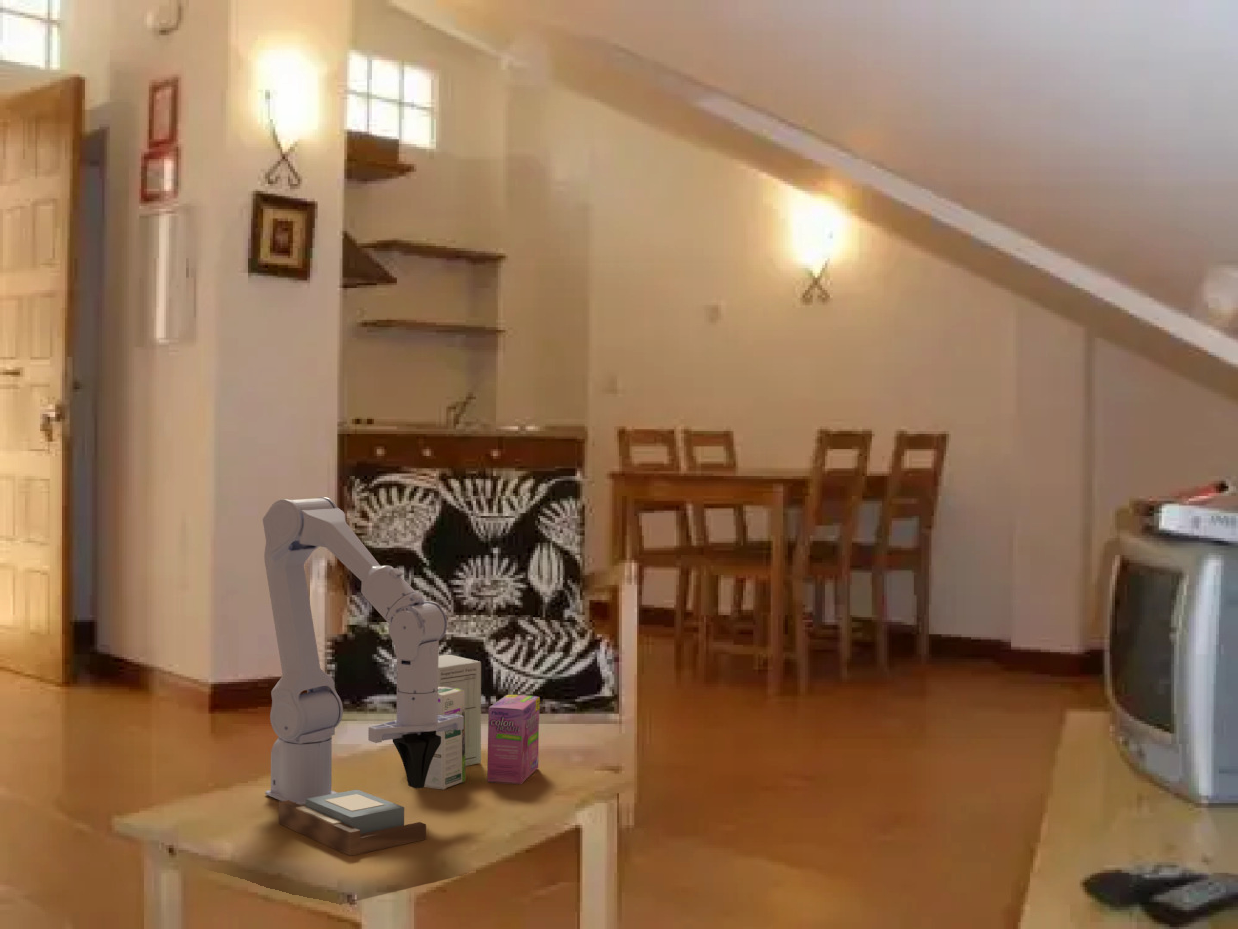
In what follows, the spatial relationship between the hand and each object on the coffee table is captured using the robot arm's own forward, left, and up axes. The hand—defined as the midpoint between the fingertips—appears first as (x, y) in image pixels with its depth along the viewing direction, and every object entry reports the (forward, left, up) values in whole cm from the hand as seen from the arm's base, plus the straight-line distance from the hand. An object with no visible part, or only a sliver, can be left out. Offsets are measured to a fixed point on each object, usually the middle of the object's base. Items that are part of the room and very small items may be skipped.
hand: (416, 786), depth 200 cm
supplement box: (-25, +21, -5) cm, 33 cm away
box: (-11, +25, -5) cm, 28 cm away
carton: (+1, -11, -5) cm, 12 cm away
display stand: (0, -11, -4) cm, 12 cm away
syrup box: (-14, +13, -5) cm, 20 cm away
